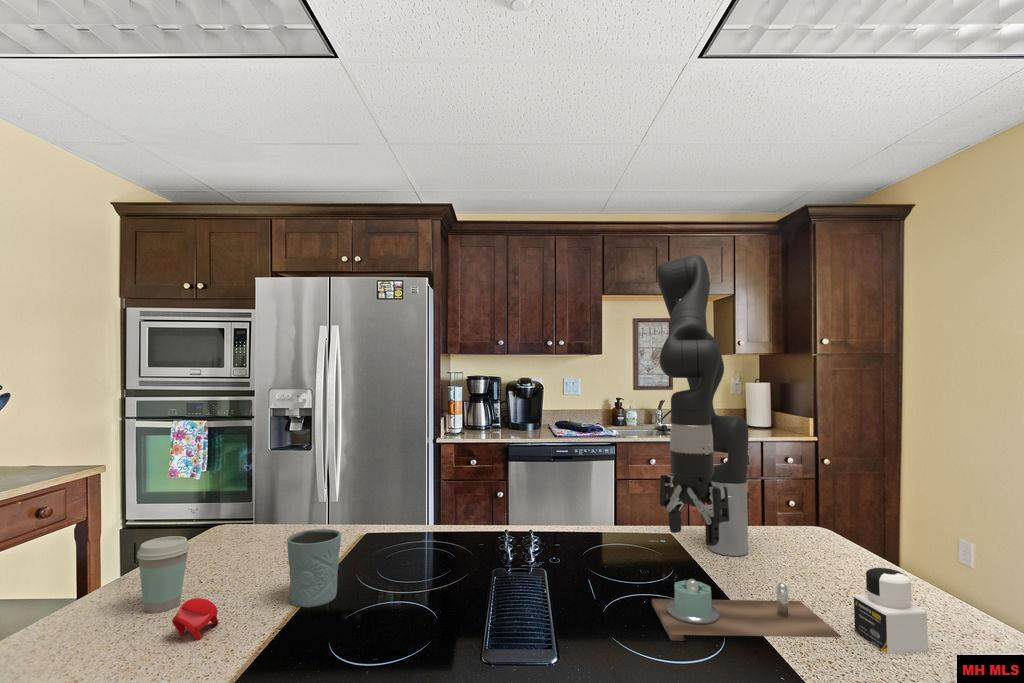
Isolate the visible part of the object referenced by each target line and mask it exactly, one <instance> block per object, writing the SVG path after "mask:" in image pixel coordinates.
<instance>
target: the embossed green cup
mask: <svg viewBox="0 0 1024 683" xmlns="http://www.w3.org/2000/svg"><path fill="white" fill-rule="evenodd" d="M341 539H342V532H341V531H339V530H336V529H329V528H319V529H318V528H317V529H308V530H303V531H299V532H296V533H294V534H291V535H290V536H288V537H287V540H286V543H287V557H288V566H289V572H288V573H289V582H290V583H289V599H290V603H291V604H292V605H293V606H295V607H299V608H312V607H318V606H319V607H320V606H322V605H326V604H328V603H331V602H332V601H333V600H334V599H336V596H337V592H338V570H339V556H340V550H341V541H342V540H341Z"/></svg>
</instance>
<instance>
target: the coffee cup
mask: <svg viewBox="0 0 1024 683" xmlns="http://www.w3.org/2000/svg"><path fill="white" fill-rule="evenodd" d="M190 550H191V547H190V543H189V542H188V538H186V537H185V536H181V535H180V536H176V535H175V536H173V535H172V536H171V535H170V536H163V537H162V536H161V537H158V538H152V539H150V540H146V541H144V542H142V543H141V544H140V546H139V549H138V551H137V555H136V558H137V559H138V566H139V568H138V569H139V576H140V578H139V579H140V588H141V598H142V607H143V608H142V609H143V612H145V613H147V614H148V613H149V614H158V613H163V612H167V611H170V610H173V609H175V608H177V607H178V606H179V605H180V603H181V598H182V593H183V592H182V591H183V586H184V580H185V572H186V566H187V565H186V564H187V559H188V552H189V551H190Z"/></svg>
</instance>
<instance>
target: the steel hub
mask: <svg viewBox="0 0 1024 683" xmlns="http://www.w3.org/2000/svg"><path fill="white" fill-rule="evenodd" d="M687 580H688V581H687V590H689V591H698V583H697V582H698V581H697V580H695V579H694V578H689V579H687ZM667 613H668V614H669V615H670V616H671V617H672V618H674V619H676V620H678V621H681V622H684V623H688V624H693V625H709V624H713V623H715V622H717V621H718V620H719V611H718V610H717V609H716V608H715V607H713V606H712V615H711V616H708V617H704V618H694V617H686V616H684V615H682V614H680V613H678V612H676V611H675V601H672V602H670V603H669V604H668V605H667Z"/></svg>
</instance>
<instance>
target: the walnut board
mask: <svg viewBox="0 0 1024 683" xmlns="http://www.w3.org/2000/svg"><path fill="white" fill-rule="evenodd" d="M672 601H675V598H674V599H673V598H671V599H670V598H651V605H652V607H653V609H654V611H655V613H656V615H657V617H658V618H659V621H660V623H661V625H662V627H663V628H664V631H665V632H666V634H667V636H668V638H669V640H670V641H673V642H676V641H678V642H680V641H681V642H682V641H683V642H686V641H687V639H686V638H685V636H731V637H733V636H735V637H736V636H737V637H784V638H785V637H791V638H792V637H794V638H797V637H798V638H800V637H801V638H802V637H803V638H805V637H806V638H843V636H842V635H841V634H839V633H838V631H836V630H835V629H833V627H831V626H830V625H829V624H828V623H827V622H826V621H824V620H823V619H822V618H821V617H820V616H818V614H816V613H815V612H814V611H812V609H810V608H809V607H808V606H807V605H806V604H805V603H803V602H802V601H801V600H788V614H789V616H788V617H782V616H779V615H778V614H777V600H761V599H759V600H756V599H754V600H751V599H711V605H712V606H713V607H715V608H716V609H717V610H718V611H719V620H718V621H717V622H715V623H713V624H709V625H693V624H688V623H684V622H681V621H678V620H676V619H674V618H672V617H671V616H670V615H669V614H668V613H667V605H668V604H669V603H670V602H672Z"/></svg>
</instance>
